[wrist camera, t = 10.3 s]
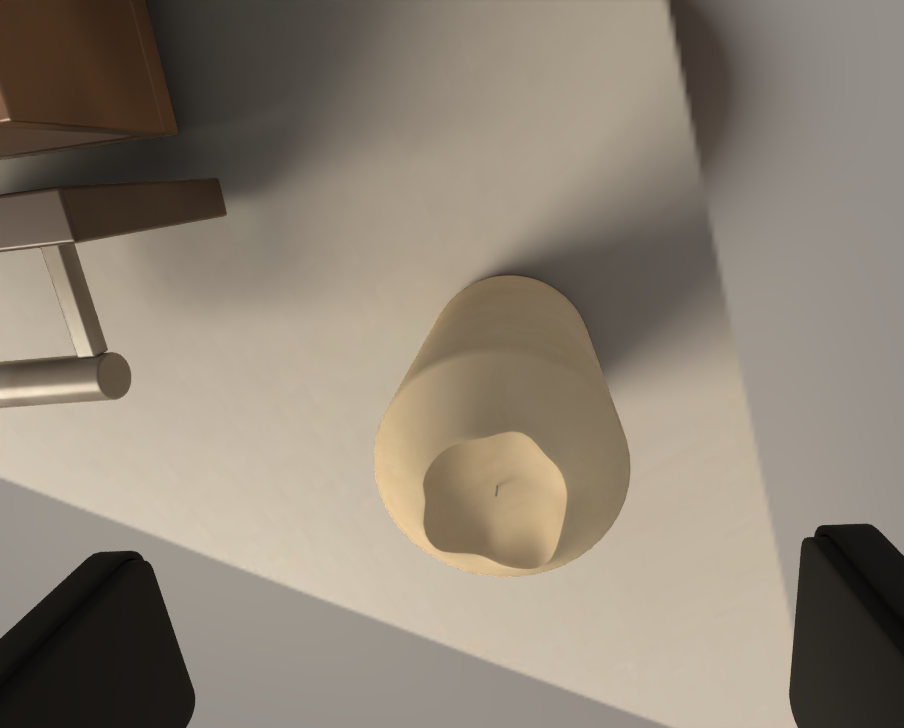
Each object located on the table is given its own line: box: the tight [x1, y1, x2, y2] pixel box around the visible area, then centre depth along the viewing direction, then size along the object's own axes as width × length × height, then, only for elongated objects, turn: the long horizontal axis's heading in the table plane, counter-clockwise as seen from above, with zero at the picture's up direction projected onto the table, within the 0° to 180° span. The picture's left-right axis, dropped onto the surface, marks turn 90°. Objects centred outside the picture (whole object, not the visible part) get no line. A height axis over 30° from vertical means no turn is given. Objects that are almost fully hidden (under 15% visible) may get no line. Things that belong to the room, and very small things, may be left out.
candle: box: [374, 275, 630, 577], centre depth 16 cm, size 6×6×10 cm
